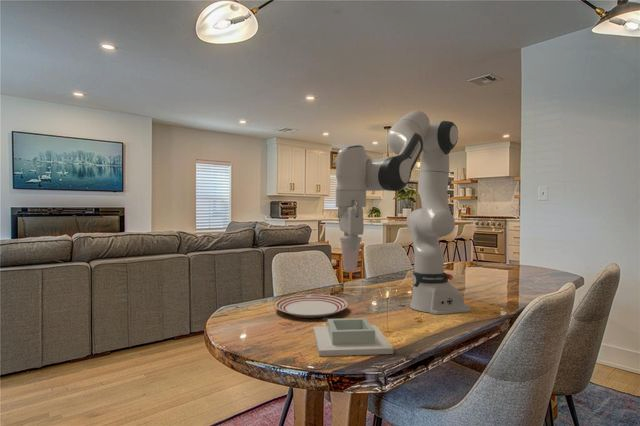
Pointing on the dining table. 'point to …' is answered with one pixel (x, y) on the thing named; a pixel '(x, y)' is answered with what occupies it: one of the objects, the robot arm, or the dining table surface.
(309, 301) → the dinner plate
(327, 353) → the socket dock
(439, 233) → the robot arm
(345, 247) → the smoothie
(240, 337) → the dining table surface
